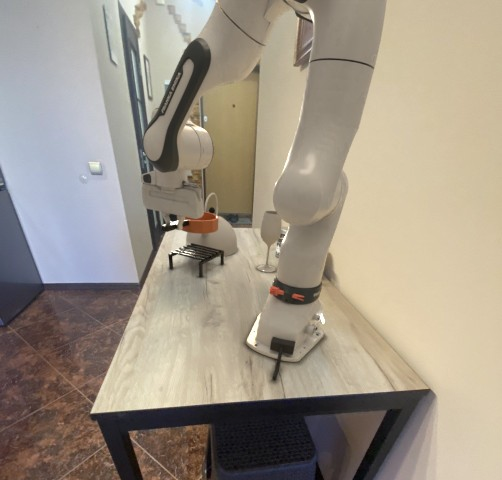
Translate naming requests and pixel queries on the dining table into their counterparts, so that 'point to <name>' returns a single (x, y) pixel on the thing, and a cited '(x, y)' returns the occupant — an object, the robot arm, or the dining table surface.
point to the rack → (194, 249)
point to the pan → (196, 224)
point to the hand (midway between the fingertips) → (174, 228)
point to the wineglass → (270, 235)
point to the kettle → (216, 234)
